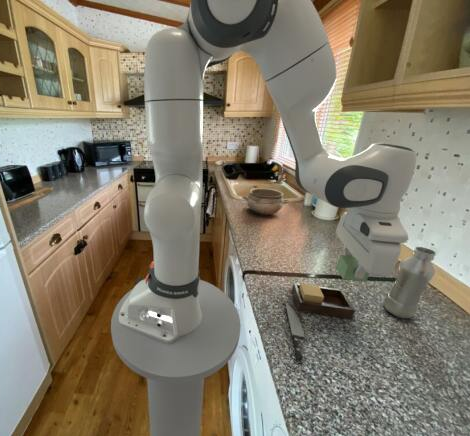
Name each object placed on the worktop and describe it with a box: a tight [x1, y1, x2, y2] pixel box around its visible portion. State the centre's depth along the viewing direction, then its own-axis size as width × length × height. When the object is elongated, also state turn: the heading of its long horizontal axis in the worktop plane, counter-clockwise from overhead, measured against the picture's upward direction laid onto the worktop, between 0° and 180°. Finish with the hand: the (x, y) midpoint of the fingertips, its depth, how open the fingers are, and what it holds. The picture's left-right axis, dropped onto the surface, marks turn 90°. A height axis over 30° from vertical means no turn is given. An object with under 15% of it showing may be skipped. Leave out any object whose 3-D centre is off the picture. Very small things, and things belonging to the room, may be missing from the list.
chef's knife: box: [284, 301, 306, 361], centre depth 62 cm, size 19×1×3 cm
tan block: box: [299, 282, 324, 304], centre depth 70 cm, size 5×5×4 cm
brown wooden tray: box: [291, 282, 356, 320], centre depth 70 cm, size 14×9×3 cm, turn 78°
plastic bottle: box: [383, 246, 437, 319], centre depth 64 cm, size 6×7×20 cm
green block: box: [335, 254, 370, 283], centre depth 60 cm, size 5×5×4 cm
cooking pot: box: [241, 187, 291, 216], centre depth 134 cm, size 25×19×12 cm
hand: (352, 269), depth 60 cm, fingers closed on green block, 5 cm apart
